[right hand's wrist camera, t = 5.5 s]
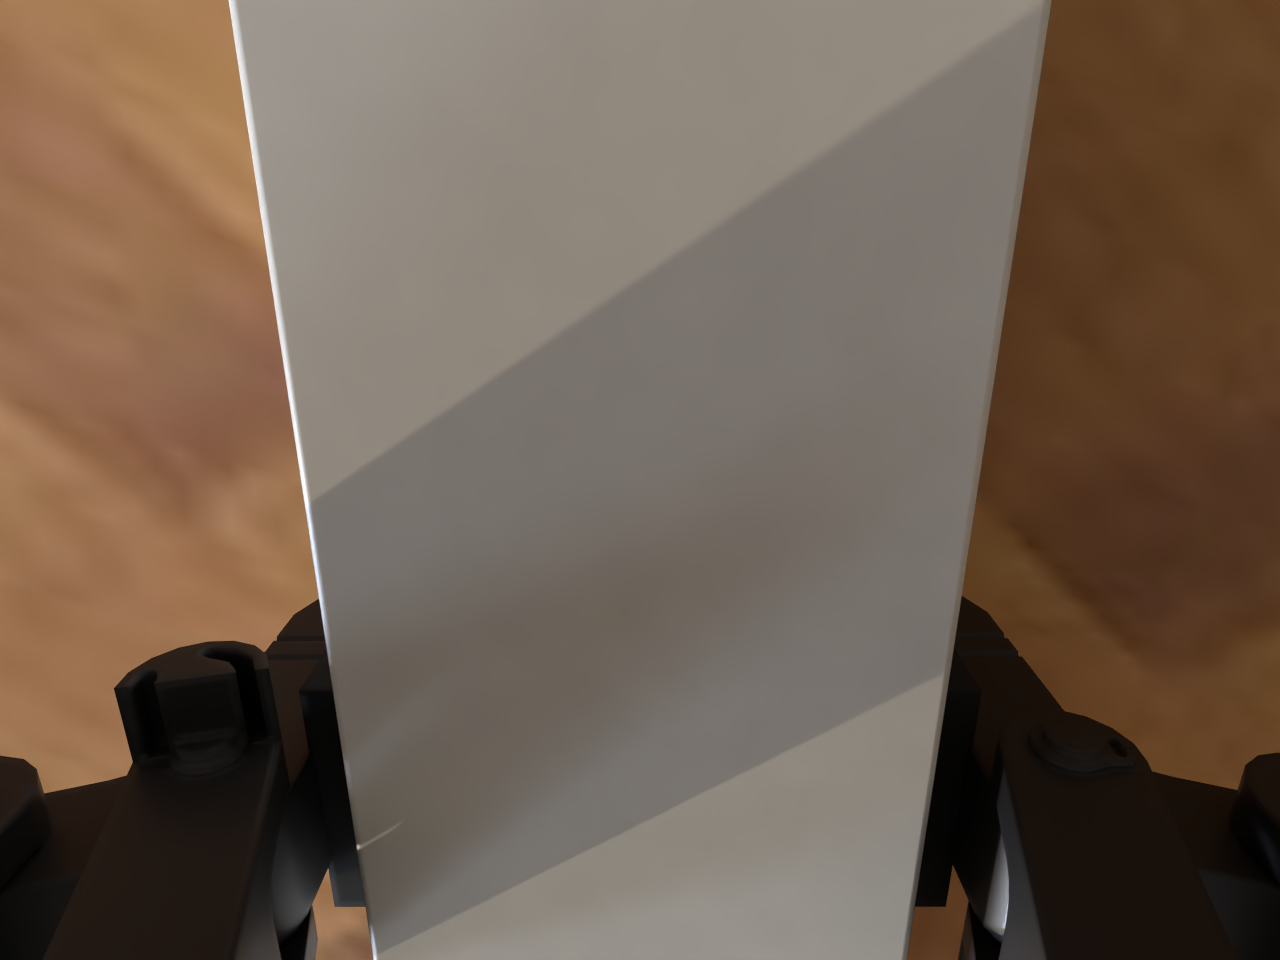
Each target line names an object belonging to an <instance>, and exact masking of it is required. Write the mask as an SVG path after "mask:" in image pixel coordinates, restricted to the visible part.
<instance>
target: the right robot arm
mask: <svg viewBox="0 0 1280 960" xmlns="http://www.w3.org/2000/svg"><path fill="white" fill-rule="evenodd" d="M114 690H115V694H116V698H117V702H118V706H119V710H120V714H121V717H122V721H123V725H124V729H125V733H126V737H127V741H128V745H129V748H130V752H131V756H132V760H133V763H132V766H131V768H130V770H129V772H128V774H127V776H124V777H120V778H116V779H112V780H108V781H104V782H99V783H94V784H89V785H84V786H79V787H74V788H69V789H65V790H60V791H55V792H50V793H45V794H44V792H43V789H42V785H41V782H40V779H39V776H38V772H37V769H36V768H35V767H33V766H32V765H31V764H29V763H28V762H27V761H25V760H24V759H19V758H12V757H5V756H0V960H315V957H316V948H317V932H316V925H315V918H314V913H313V907H312V903H313V900H314V898H315V896H316V894H317V891H318V889H319V887H320V885H321V883H322V880H323V878H324V876H325V874H326V871H327V869H329V874H330V880H331V886H332V892H333V898H334V904H335V907H366V906H365V899H364V892H363V886H362V879H361V873H360V866H359V859H358V853H357V846H356V840H355V833H354V826H353V820H352V813H351V806H350V800H349V793H348V787H347V780H346V773H345V767H344V760H343V753H342V747H341V740H340V734H339V727H338V720H337V714H336V707H335V701H334V694H333V687H332V681H331V674H330V667H329V661H328V654H327V648H326V641H325V634H324V628H323V621H322V615H321V608H320V601H319V599H318V600H316V601H315V602H313V603H312V604H310V605H308V606H307V607H305V608H304V609H302V610H301V611H299V612H297V613H296V614H294V615H293V617H292V618H291V619H290V620H289V622H288V623H287V624H286V626H285V627H284V628H283V630H282V631H281V632H280V633H279V635H278V636H277V641H273V642H272V644H271V645H270V646H269V648H268V649H267V650H266V652H265V653H264V652H263V651H261V650H260V649H259V648H258V647H256V646H255V645H251V644H246V643H242V642H237V641H215V642H204V643H199V644H195V645H190V646H185V647H180V648H177V649H175V650H172V651H169V652H167V653H164V654H161V655H159V656H156V657H154V658H151V659H150V660H148V661H146V662H145V663H143V664H141V665H140V666H138V667H137V668H135V669H133V670H132V671H130V672H128V673H127V675H126V676H125V677H124V678H123V679H122V680H121V681H120V682H119V683H118V684H117V686H116V687H115V688H114ZM952 866H954V868H955V870H956V873H957V875H958V877H959V879H960V882H961V884H962V886H963V888H964V890H965V893H966V895H967V897H968V899H969V902H968V907H967V913H966V918H965V924H964V930H963V935H962V941H961V946H960V952H959V957H958V960H1280V753H1272V754H1265V755H1258V756H1257V757H1256V758H1254V759H1253V760H1252V761H1250V762H1249V763H1248V764H1246V765H1245V768H1244V771H1243V775H1242V778H1241V781H1240V784H1239V788H1238V790H1234V789H1229V788H1224V787H1219V786H1214V785H1210V784H1205V783H1200V782H1195V781H1190V780H1185V779H1180V778H1175V777H1171V776H1167V775H1163V774H1160V773H1156V772H1152V771H1151V768H1150V766H1149V764H1148V762H1147V760H1146V759H1145V758H1144V756H1143V755H1142V754H1141V752H1140V751H1139V750H1138V749H1137V747H1136V746H1135V745H1134V744H1133V743H1132V742H1131V741H1129V740H1128V739H1127V738H1125V737H1124V736H1122V735H1121V734H1120V733H1118V732H1117V731H1115V730H1114V729H1113V728H1111V727H1108V726H1106V725H1104V724H1102V723H1099V722H1097V721H1095V720H1093V719H1090V718H1088V717H1086V716H1082V715H1078V714H1073V713H1069V712H1065V711H1064V710H1063V709H1062V708H1061V706H1060V705H1059V704H1058V702H1057V701H1056V700H1055V699H1054V697H1053V696H1052V695H1051V693H1050V692H1049V691H1048V690H1047V688H1046V687H1045V686H1044V684H1043V683H1042V682H1041V681H1040V679H1039V678H1038V677H1037V675H1036V674H1035V673H1034V672H1033V670H1032V669H1031V668H1030V666H1029V665H1028V664H1027V663H1026V661H1025V660H1024V659H1023V657H1019V656H1018V651H1017V650H1016V648H1015V647H1014V646H1013V645H1012V643H1011V642H1010V641H1009V639H1008V638H1004V633H1003V632H1002V630H1001V629H1000V628H999V627H998V625H997V624H996V623H995V621H994V620H993V619H992V618H991V616H990V615H989V614H988V612H986V611H985V610H983V609H982V608H980V607H979V606H977V605H975V604H974V603H972V602H971V601H969V600H967V599H966V598H964V597H963V596H962V597H961V603H960V610H959V617H958V623H957V630H956V636H955V643H954V650H953V656H952V663H951V669H950V676H949V683H948V689H947V696H946V703H945V709H944V716H943V722H942V729H941V736H940V742H939V749H938V755H937V762H936V769H935V775H934V782H933V788H932V795H931V802H930V808H929V815H928V822H927V828H926V835H925V841H924V848H923V855H922V861H921V868H920V874H919V881H918V888H917V894H916V901H915V907H946V901H947V895H948V889H949V884H950V878H951V872H952Z"/></svg>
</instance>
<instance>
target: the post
mask: <svg viewBox="0 0 1280 960" xmlns="http://www.w3.org/2000/svg"><path fill="white" fill-rule="evenodd" d="M1051 2H1052V0H229V6H230V12H231V19H232V25H233V32H234V39H235V45H236V52H237V59H238V65H239V72H240V78H241V85H242V92H243V98H244V105H245V112H246V118H247V125H248V131H249V138H250V145H251V151H252V158H253V164H254V171H255V178H256V184H257V191H258V198H259V204H260V211H261V217H262V224H263V231H264V237H265V244H266V251H267V257H268V264H269V270H270V277H271V284H272V290H273V297H274V303H275V310H276V317H277V323H278V330H279V337H280V343H281V350H282V356H283V363H284V370H285V376H286V383H287V389H288V396H289V403H290V409H291V416H292V423H293V429H294V436H295V442H296V449H297V456H298V462H299V469H300V476H301V482H302V489H303V495H304V502H305V509H306V515H307V522H308V528H309V535H310V542H311V548H312V555H313V562H314V568H315V575H316V581H317V588H318V595H319V601H320V608H321V615H322V621H323V628H324V634H325V641H326V648H327V654H328V661H329V667H330V674H331V681H332V687H333V694H334V701H335V707H336V714H337V720H338V727H339V734H340V740H341V747H342V753H343V760H344V767H345V773H346V780H347V787H348V793H349V800H350V806H351V813H352V820H353V826H354V833H355V840H356V846H357V853H358V859H359V866H360V873H361V879H362V886H363V892H364V899H365V906H366V912H367V919H368V926H369V932H370V939H371V945H372V952H373V959H374V960H907V954H908V947H909V940H910V934H911V927H912V921H913V914H914V907H915V901H916V894H917V888H918V881H919V874H920V868H921V861H922V855H923V848H924V841H925V835H926V828H927V822H928V815H929V808H930V802H931V795H932V788H933V782H934V775H935V769H936V762H937V755H938V749H939V742H940V736H941V729H942V722H943V716H944V709H945V703H946V696H947V689H948V683H949V676H950V669H951V663H952V656H953V650H954V643H955V636H956V630H957V623H958V617H959V610H960V603H961V597H962V590H963V584H964V577H965V570H966V564H967V557H968V550H969V544H970V537H971V531H972V524H973V517H974V511H975V504H976V498H977V491H978V484H979V478H980V471H981V465H982V458H983V451H984V445H985V438H986V431H987V425H988V418H989V412H990V405H991V398H992V392H993V385H994V379H995V372H996V365H997V359H998V352H999V346H1000V339H1001V332H1002V326H1003V319H1004V312H1005V306H1006V299H1007V293H1008V286H1009V279H1010V273H1011V266H1012V260H1013V253H1014V246H1015V240H1016V233H1017V227H1018V220H1019V213H1020V207H1021V200H1022V193H1023V187H1024V180H1025V174H1026V167H1027V160H1028V154H1029V147H1030V141H1031V134H1032V127H1033V121H1034V114H1035V108H1036V101H1037V94H1038V88H1039V81H1040V74H1041V68H1042V61H1043V55H1044V48H1045V41H1046V35H1047V28H1048V22H1049V15H1050V8H1051Z"/></svg>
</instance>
